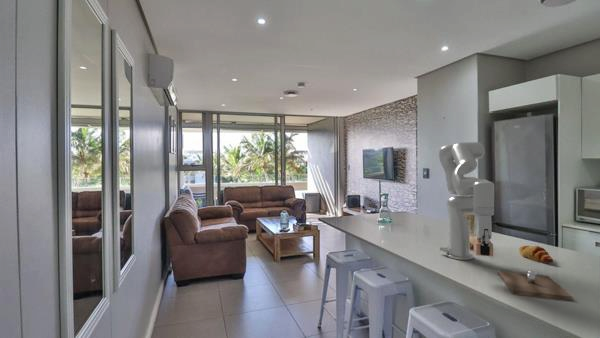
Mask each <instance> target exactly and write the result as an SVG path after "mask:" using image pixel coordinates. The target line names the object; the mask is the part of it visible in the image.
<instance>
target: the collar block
mask: <svg viewBox="0 0 600 338" xmlns="http://www.w3.org/2000/svg"><path fill="white" fill-rule="evenodd" d="M483 241H485V240H483ZM489 244H490V255H489V256H487V255H481V254H480V245H481V240H477V238H476V239H475V238H474V239H473V252H474V254H475V255H476V256H479V257H480V256H481V257H483V256H484V257H494V244H493V243H492V242H491V239H489Z"/></svg>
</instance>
